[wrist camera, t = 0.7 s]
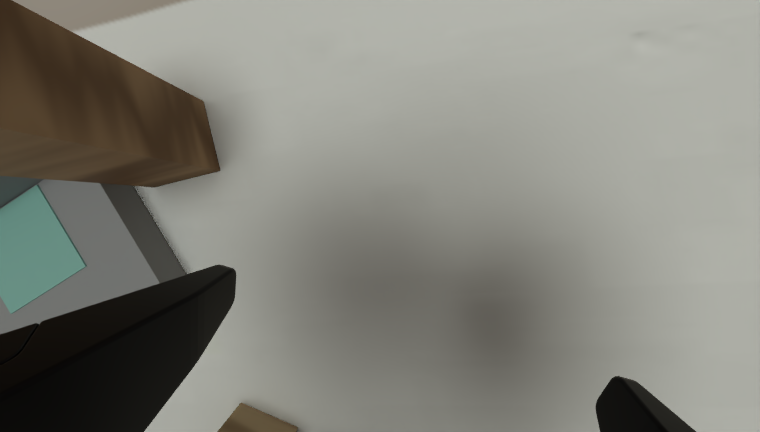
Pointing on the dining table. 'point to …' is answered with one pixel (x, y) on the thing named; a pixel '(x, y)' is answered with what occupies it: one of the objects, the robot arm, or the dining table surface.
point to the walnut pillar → (91, 112)
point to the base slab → (74, 247)
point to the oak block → (254, 422)
